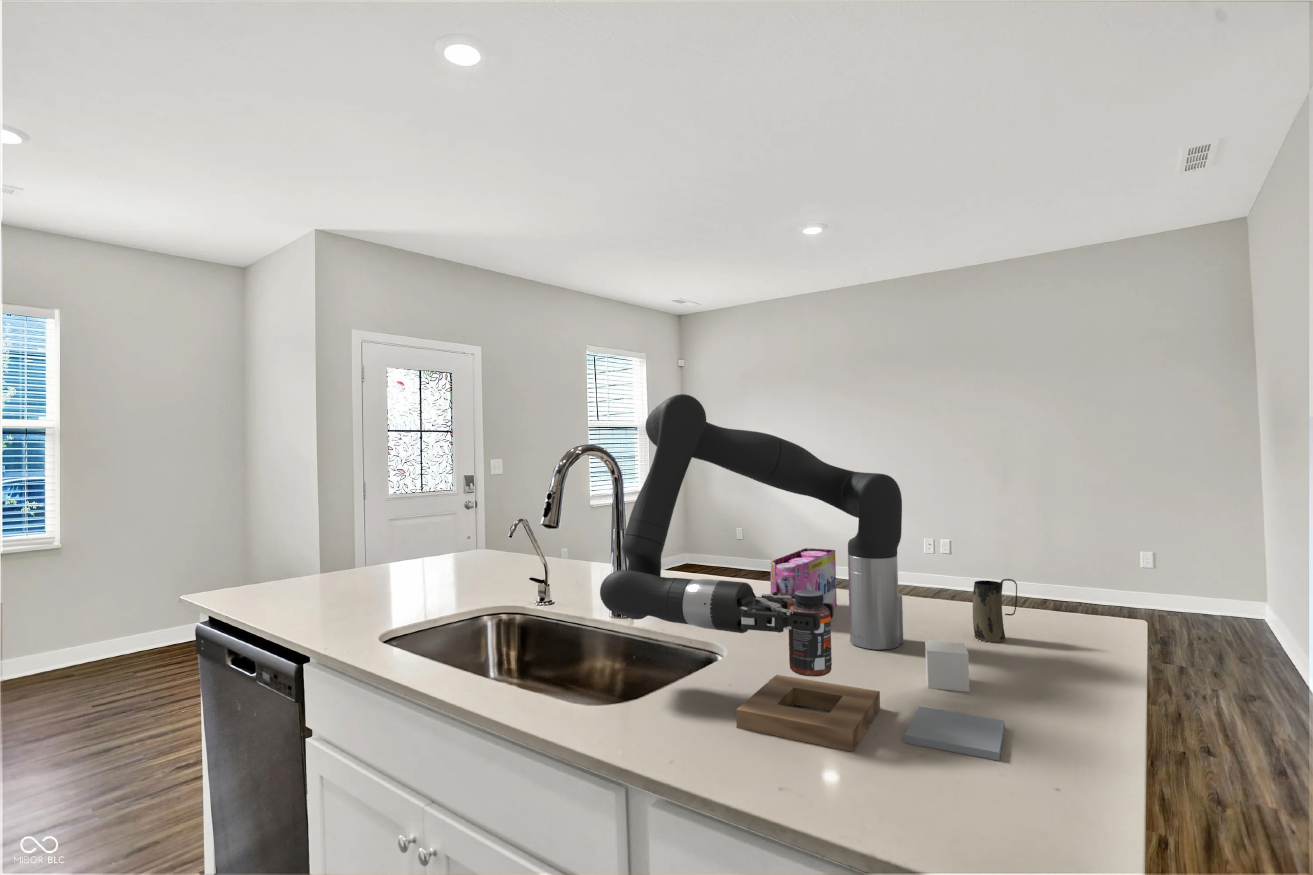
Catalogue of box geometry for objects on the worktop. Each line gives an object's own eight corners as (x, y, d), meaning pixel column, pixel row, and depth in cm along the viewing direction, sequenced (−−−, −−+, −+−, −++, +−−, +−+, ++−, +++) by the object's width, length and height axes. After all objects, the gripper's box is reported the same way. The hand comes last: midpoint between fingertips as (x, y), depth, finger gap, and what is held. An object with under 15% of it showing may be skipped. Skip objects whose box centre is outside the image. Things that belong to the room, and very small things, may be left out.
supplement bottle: (833, 679, 93) (831, 597, 93) (789, 677, 94) (787, 596, 94) (830, 664, 99) (829, 588, 99) (789, 663, 100) (787, 587, 100)
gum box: (801, 629, 143) (800, 565, 143) (767, 624, 147) (765, 562, 148) (837, 605, 163) (836, 549, 163) (806, 602, 167) (805, 547, 168)
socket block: (776, 690, 108) (776, 674, 108) (880, 708, 99) (879, 691, 100) (736, 727, 94) (736, 709, 94) (852, 751, 86) (852, 731, 86)
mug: (972, 640, 132) (970, 579, 132) (974, 633, 137) (972, 574, 137) (1018, 645, 128) (1016, 582, 128) (1018, 638, 133) (1016, 577, 133)
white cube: (928, 688, 107) (927, 650, 107) (926, 676, 113) (924, 640, 113) (969, 692, 105) (968, 653, 105) (965, 679, 111) (964, 642, 111)
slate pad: (919, 712, 97) (919, 705, 97) (1004, 727, 92) (1004, 720, 92) (905, 742, 88) (904, 734, 88) (999, 760, 82) (999, 752, 82)
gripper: (697, 590, 98) (810, 601, 89) (736, 572, 110) (839, 580, 102) (698, 641, 98) (811, 658, 89) (737, 617, 110) (840, 630, 102)
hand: (826, 616), depth 96 cm, fingers closed on supplement bottle, 6 cm apart
